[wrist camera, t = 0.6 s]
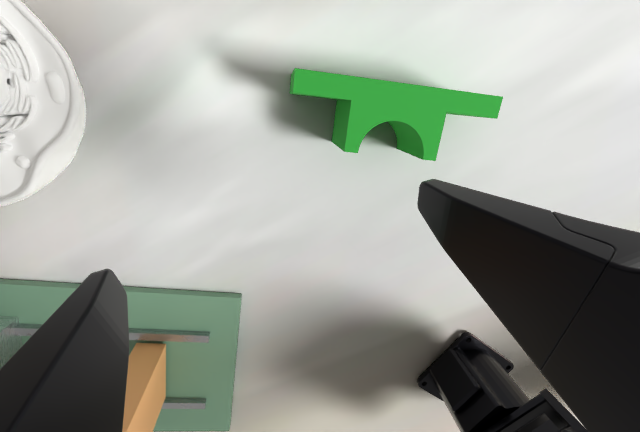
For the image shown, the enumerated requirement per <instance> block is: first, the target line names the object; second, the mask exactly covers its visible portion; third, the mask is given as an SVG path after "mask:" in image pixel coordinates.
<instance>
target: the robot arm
mask: <svg viewBox="0 0 640 432" xmlns="http://www.w3.org/2000/svg"><path fill="white" fill-rule="evenodd" d="M418 209H419V211H420V213H421V214H422V216H423V218H424V219H425V221H426V222H427V224H428V226H429V227H430V229H431V230H432V232H433V234H434V235H435V237H436V238H437V240H438V242H439V243H440V245H441V246H442V247H443V249H444V250H445V251H446V253H447V254H448V255H449V257H450V258H451V259H452V260H453V262H454V263H455V264H456V265H457V267H458V268H459V269H460V270H461V272H462V273H463V274H464V275H465V277H466V278H467V279H468V280H469V282H470V283H471V284H472V286H473V287H474V288H475V289H476V291H477V292H478V293H479V294H480V296H481V297H482V298H483V299H484V301H485V302H486V303H487V304H488V306H489V307H490V308H491V309H492V311H493V312H494V313H495V315H496V316H497V317H498V318H499V320H500V321H501V322H502V323H503V325H504V326H505V327H506V328H507V330H508V331H509V332H510V333H511V335H512V336H513V337H514V338H515V340H516V341H517V342H518V343H519V345H520V346H521V347H522V349H523V350H524V351H525V352H526V354H527V355H528V356H529V357H530V359H531V360H532V361H533V362H534V364H535V365H536V366H537V367H538V369H539V370H541V373H542V374H543V375H544V377H545V378H546V379H547V380H548V382H549V383H550V384H551V385H552V387H553V388H554V389H555V390H556V392H557V393H558V394H559V395H560V397H561V398H562V399H563V400H564V402H565V403H566V404H567V405H568V407H569V408H570V409H571V410H572V412H573V413H574V414H575V416H576V417H577V418H578V419H579V421H580V422H581V423H582V424H583V426H584V427H585V428H586V429H587V430H586V429H585V428H584V427H583V426H582V425H581V424H580V423H579V421H578V420H577V419H576V418H575V417H574V416H573V415H572V414H571V413H570V412H569V411H568V410H567V409H566V408H565V407H564V406H563V405H562V404H561V403H560V402H559V401H558V400H557V399H556V398H555V397H554V396H553V395H552V394H551V393H550V392H549V391H548V390H547V389H546V388H545V389H544V390H542V391H541V392H539V393H540V394H539V395H537V396H536V397H534V398H533V399H531V400H529V399H528V397H527V396H526V395H525V394H524V393H523V391H522V390H521V389H520V388H519V387H518V385H517V384H516V383H515V382H514V381H513V379H512V378H511V377H510V376H509V375H508V373H509V372H510V371H511V370H512V369H513V367H514V366H513V364H512V363H511V362H510V361H509V360H508V359H506V358H505V357H504V356H502V355H501V354H499V353H498V352H497V351H495V350H494V349H492V348H491V347H489V346H488V345H487V344H485V343H484V342H482V341H481V340H480V339H478V338H477V337H475V336H474V335H473V334H471V333H469V332H466V333H464V334H462V335H461V336H460V337H459V338H458V339H457V340H456V341H455V342H454V343H453V344H452V345H451V346H450V347H449V348H448V349H447V350H446V351H445V352H444V353H443V354H442V355H441V356H440V357H439V358H438V359H437V360H436V361H435V362H434V363H433V364H432V365H431V366H430V367H429V368H428V369H427V370H426V371H425V372H424V373H423V374H422V375H421V376H420V377H419V378H418V379H417V383H418V385H419V387H420V388H422V389H424V390H425V391H427V392H429V393H430V394H432V395H434V396H436V397H437V398H439V399H441V400H442V401H444V402H445V404H446V406H447V408H448V409H449V411H450V413H451V415H452V417H453V419H454V420H455V422H456V424H457V426H458V428H459V429H460V431H461V432H640V232H635V231H630V230H626V229H621V228H617V227H612V226H608V225H604V224H600V223H595V222H591V221H587V220H583V219H579V218H575V217H571V216H568V215H564V214H560V213H557V212H551V211H549V210H546V209H542V208H538V207H535V206H531V205H527V204H524V203H520V202H516V201H513V200H509V199H505V198H502V197H498V196H494V195H491V194H487V193H483V192H480V191H476V190H472V189H469V188H465V187H461V186H458V185H454V184H450V183H447V182H443V181H439V180H436V179H431V180H427V181H424V182H422V183H421V184H420V187H419V196H418ZM467 338H468V339H467ZM128 362H129V325H128V302H127V294H126V291H125V289H124V287H123V286H122V284H121V283H120V281H119V280H118V278H117V277H116V275H115V274H114V272H113V271H112V270H110V269H104V270H101V271H97V272H94V273H92V274H90V275H89V276H88V277H87V278H86V279H85V280H84V281H83V282H82V284H81V285H80V286H79V287H78V288H77V289H76V290H75V291H74V292H73V293H72V294H71V295H70V296H69V297H68V298H67V299H66V300H65V301H64V302H63V304H62V305H61V306H60V307H59V308H58V309H57V310H56V311H55V312H54V313H53V314H52V315H51V316H50V317H49V318H48V319H47V320H46V321H45V323H44V324H43V325H42V326H41V327H40V328H39V329H38V330H37V331H36V332H35V333H34V334H33V335H32V336H31V337H30V338H29V339H28V340H27V342H26V343H25V344H24V345H23V346H22V347H21V348H20V349H19V350H18V351H17V352H16V353H15V354H14V355H13V356H12V357H11V358H10V359H9V360H8V362H7V363H6V364H5V365H4V366H3V367H2V368H1V369H0V432H122V429H123V418H124V407H125V396H126V384H127V373H128Z"/></svg>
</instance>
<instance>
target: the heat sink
mask: <svg viewBox="0 0 640 432" xmlns="http://www.w3.org/2000/svg"><path fill="white" fill-rule="evenodd" d="M42 325H43V324H24V323H19V318H18V317H6V316H0V369H1V368H2V367H3V366H4V365H5V364H6V363H7V362H8V360H9V359H10V358H11V357H12V356H13V355H14V354H15V353H16V352H17V351H18V350H19V349H20V348H21V347H22V346H23V343H22V337H21V336H32V335H33V334H34V333H35V332H36V331H37V330H38V329H39V328H40V327H41V326H42ZM129 340H146V341H173V342H199V343H209V340H210V332H209V331H186V330H163V329H140V328H129ZM205 407H206V398H166V397H165V400H164V403H163V405H162V408H161V409H205Z"/></svg>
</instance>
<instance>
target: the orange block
mask: <svg viewBox="0 0 640 432" xmlns="http://www.w3.org/2000/svg"><path fill="white" fill-rule="evenodd" d="M165 397H166V344H156V343H136V345H135V346H134V348H133V350H132V351H131V353H130V355H129V362H128V373H127V384H126V396H125V407H124V418H123V429H122V432H153V430H154V427H155V424H156V421H157V419H158V416H159V413H160V411H161V408H162V405H163V403H164V400H165Z"/></svg>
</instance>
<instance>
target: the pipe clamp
mask: <svg viewBox="0 0 640 432" xmlns="http://www.w3.org/2000/svg"><path fill="white" fill-rule="evenodd" d="M290 94H295V95H303V96H311V97H319V98H327V99H335V100H337V102H336V110H335V118H334V126H333V134H332V142H333V143H334V144H335V145H337V146H338V147H339V148H340V149H342V150H343V151H344V152H354V153H358V150H359V147H360V144H361V142H362V140H363V138H364V137H365V135H366V134H367V133H368V132H369V131H370V130H371V129H372V128H374V127H375V126H377V125H379V124H381V123H384V122H388V123H389V124H390V125H391V126H392V128H393V130H394V132H395V134H396V138H397V149H399V150H401V151H404V152H406V153H409V154H411V155H413V156H416V157H418V158H421V159H423V160H433V161H436V156H437V152H438V147H439V143H440V139H441V134H442V130H443V125H444V121H445V117H446V113H447V114H455V115H465V116H475V117H486V118H497V117H498V113H499V110H500V106H501V102H502V99H503V97H500V96H493V95H485V94H478V93H471V92H464V91H456V90H449V89H442V88H435V87H427V86H420V85H413V84H406V83H398V82H391V81H384V80H377V79H369V78H362V77H355V76H348V75H340V74H333V73H326V72H318V71H311V70H304V69H297V68H295V69H294V71H293V72H292V74H291V82H290Z"/></svg>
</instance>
